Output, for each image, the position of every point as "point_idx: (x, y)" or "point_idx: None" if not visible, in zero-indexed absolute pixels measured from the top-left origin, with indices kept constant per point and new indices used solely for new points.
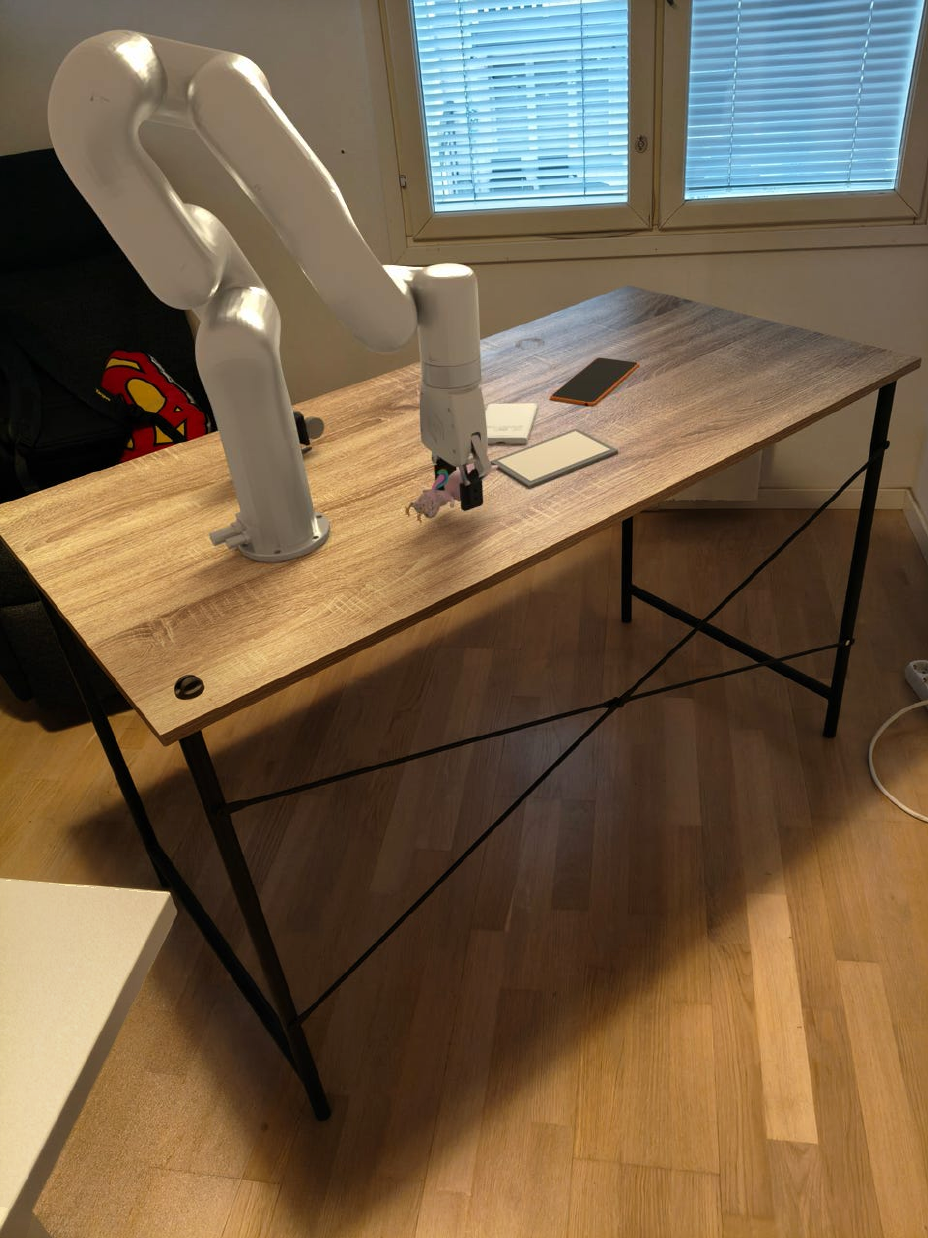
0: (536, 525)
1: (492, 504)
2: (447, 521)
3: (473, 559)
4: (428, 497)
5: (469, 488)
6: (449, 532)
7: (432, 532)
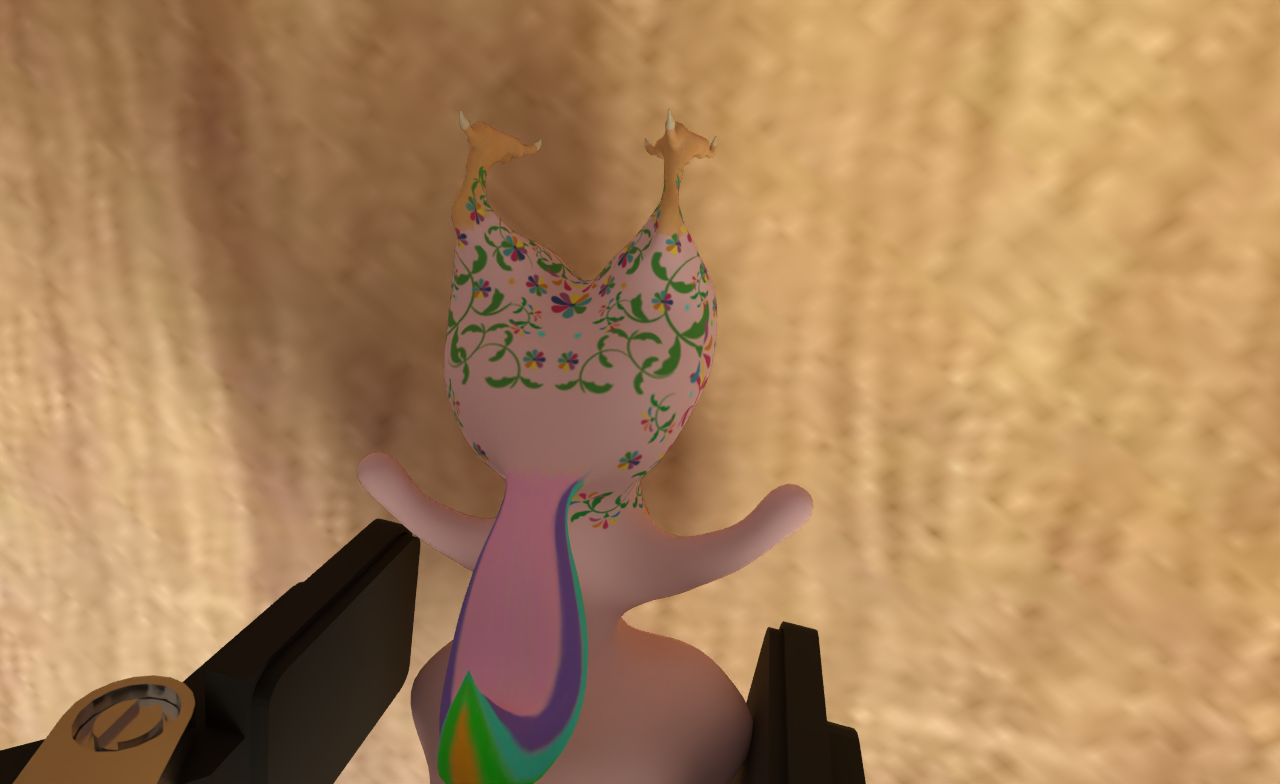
0: None
1: None
2: None
3: (94, 213)
4: (525, 375)
5: (183, 681)
6: None
7: None
